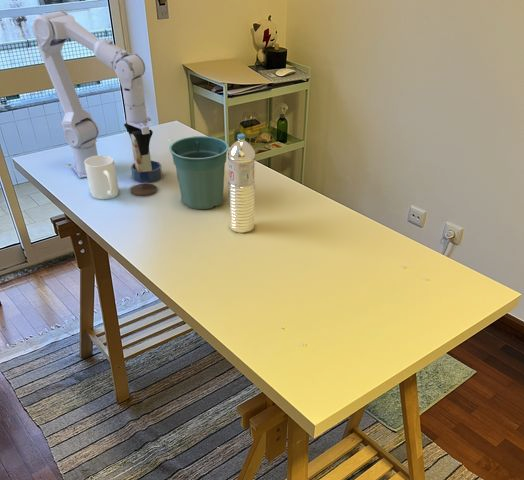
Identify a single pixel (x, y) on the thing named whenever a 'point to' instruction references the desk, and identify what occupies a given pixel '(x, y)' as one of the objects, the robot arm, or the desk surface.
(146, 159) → the drug facts carton
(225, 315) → the desk surface
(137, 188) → the walnut coaster
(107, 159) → the cup
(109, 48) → the robot arm
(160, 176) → the blue ring
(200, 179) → the flower pot
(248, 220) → the water bottle
